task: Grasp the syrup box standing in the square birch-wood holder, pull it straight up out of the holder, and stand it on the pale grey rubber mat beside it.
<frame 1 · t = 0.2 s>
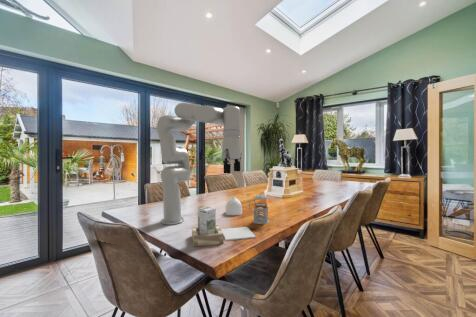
hand: (232, 172, 107), 31 cm above the table, tool pointing down, fingers open, 9 cm apart
holder: (207, 239, 107), on the table
syrup box: (207, 239, 107), resting in holder
grey lantern: (259, 221, 134), on the table
teardrop: (233, 213, 152), on the table
mat: (237, 233, 114), on the table
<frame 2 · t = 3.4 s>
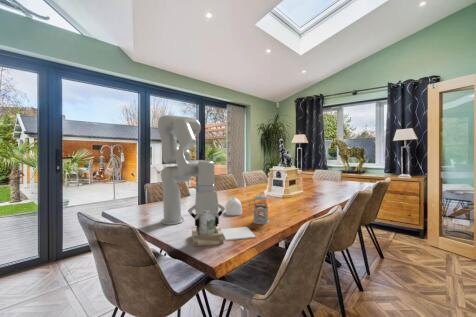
hand: (206, 226, 107), 6 cm above the table, tool pointing down, fingers closed on syrup box, 8 cm apart
syrup box: (207, 239, 107), resting in holder, touching gripper
everything else where it was.
when the fingers open (8 cm above the table, at t = 12.1 s): syrup box drops 1 cm, resting on mat.
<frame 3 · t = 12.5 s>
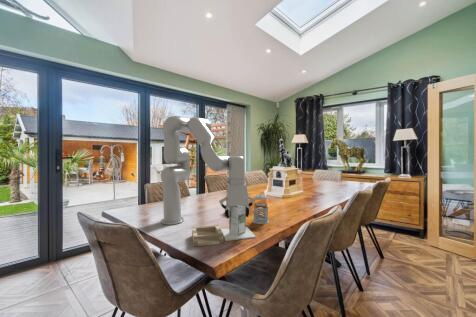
hand: (237, 216, 114), 8 cm above the table, tool pointing down, fingers open, 9 cm apart
syrup box: (237, 232, 114), resting on mat
everything else where it was.
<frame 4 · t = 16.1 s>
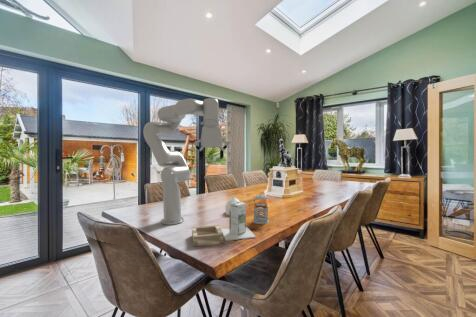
hand: (211, 159, 117), 36 cm above the table, tool pointing down, fingers open, 9 cm apart
nothing on the table moved.
at the end: syrup box inside the target area on the mat (0.2 cm from its centre), point 0.4 cm above the mat's base; syrup box tilted 0°; the gripper is holding nothing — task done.
